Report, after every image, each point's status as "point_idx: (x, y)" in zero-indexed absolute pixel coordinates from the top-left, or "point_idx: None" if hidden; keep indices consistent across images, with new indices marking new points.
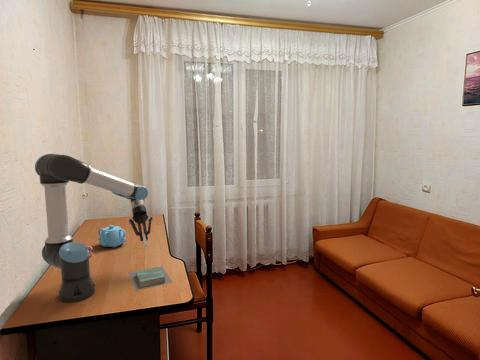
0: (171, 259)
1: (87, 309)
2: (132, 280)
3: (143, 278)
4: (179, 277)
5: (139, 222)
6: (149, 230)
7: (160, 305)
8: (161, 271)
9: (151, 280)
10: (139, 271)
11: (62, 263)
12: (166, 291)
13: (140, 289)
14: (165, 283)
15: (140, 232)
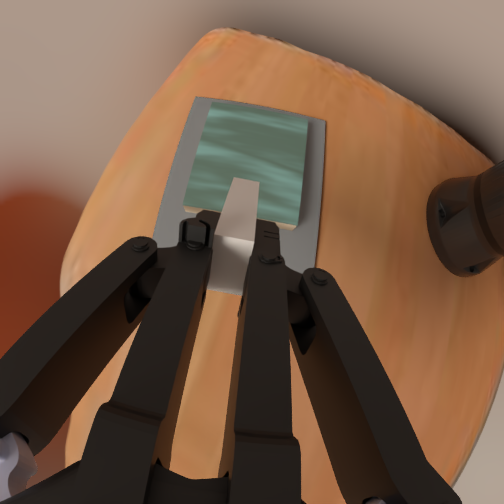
0: None
1: (431, 133)
2: (317, 193)
3: (289, 136)
4: (150, 124)
5: (264, 445)
6: (128, 252)
7: (281, 42)
8: (197, 149)
9: (266, 111)
10: (283, 209)
11: None
12: (238, 74)
13: (308, 116)
14: (219, 102)
15: (274, 268)
